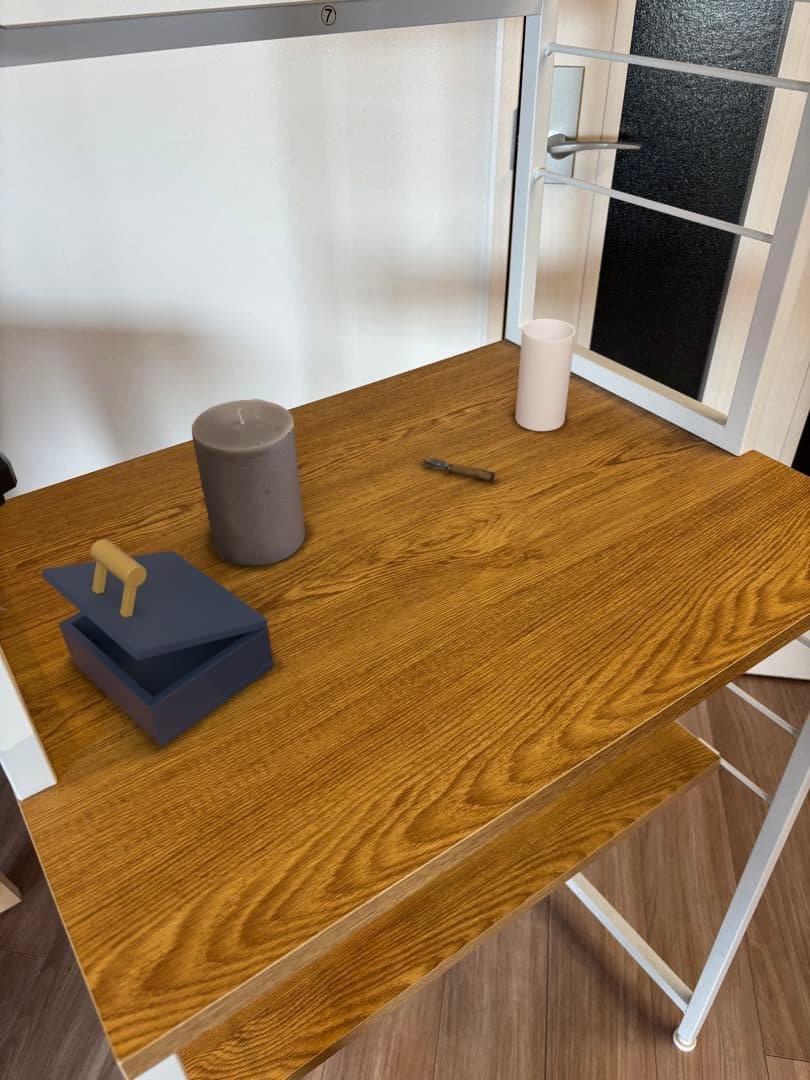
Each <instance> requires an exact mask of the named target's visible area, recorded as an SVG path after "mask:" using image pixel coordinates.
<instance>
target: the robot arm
mask: <svg viewBox="0 0 810 1080" xmlns="http://www.w3.org/2000/svg"><path fill="white" fill-rule="evenodd" d="M17 485H18V478H17V476H16V473H15V471H14V467H13V465H12V462H11V460H9V458H8V457H7V456H6V455H5V454H4V453H3V452H2V451H0V508H1V507H3V506H4V505H5V504H6V497H5V494H7V493H8V492H10V491H12V490H13V489H15V488H17Z"/></svg>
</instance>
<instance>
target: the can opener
mask: <svg viewBox="0 0 810 1080" xmlns="http://www.w3.org/2000/svg"><path fill="white" fill-rule="evenodd" d="M421 460H422V461H424V462H423V466H424V467H425V468H432V467H433V469H434V470H440V471H441V470H445V469H446V470H447V472H450V473H452V474H453V473H454V474H458V475H464V476H467V477H471V478H474V479H477V480H478V479H479V480H483V481H490V482H491V481H492V482H493V481H494V479H495V476H496V475H495V474H496V473H495V471H491V470H488V469H483V468H479V467H471V466H465V465H461V464H456V463H449V464H447V462H446V461H444V460H441V459H436V458H421ZM427 462H429V463H431V464H427Z"/></svg>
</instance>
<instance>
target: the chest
mask: <svg viewBox="0 0 810 1080" xmlns="http://www.w3.org/2000/svg"><path fill="white" fill-rule="evenodd" d="M58 627H59V629H60V632H61V635H62V638H63V640H64V643H65V645H66V648H67V651H68V653H69V656H70V658H71V661H72V663H73V664H74V665H75V666H76V668H78V669H79V670H80V671H81V672H82V673H83V674H84V675H85V676H86V677H87V678H89V680H91V681H92V682H93V683H94V684H95V685H96V686H97V687H98V688H99V689H100V690H101V691H102V692H103V693H104V694H105V695H106V696H107V697H108V698H110V699H111V701H113V702H114V703H115V704H116V705H117V706H118V707H119V708H120V709H121V710H122V711H123V712H124V713H125V714H126V715H128V716H129V717H130V718H131V719H132V720H133V721H134V722H135V723H136V724H137V725H138V726H139V727H140V728H141V729H143V731H144V732H145V733H147V734H148V735H149V736H150V737H151V739H153V740H154V741H155V743H157V744H158V746H160V747H162V748H164V747H165V746H167V745H168V744H169V743H171V742H172V741H174V740H175V739H176V738H178V737H179V736H180V735H182V734H183V733H185V732H186V731H188V730H189V729H190V728H191V727H193V726H194V725H196V724H197V723H199V722H200V721H201V720H202V719H204V718H205V717H207V716H208V715H210V714H211V713H212V712H214V711H215V710H216V709H218V708H220V706H222V705H223V704H225V703H226V702H228V701H229V700H230V699H232V698H233V697H234V696H236V695H237V694H238V693H240V692H241V691H243V690H244V689H246V688H247V687H249V685H251V684H252V683H254V682H256V681H257V680H258V679H259V678H261V677H262V676H264V675H265V674H266V673H268V672H269V671H271V670H272V669H273V668H274V667H275V663H274V656H273V651H272V644H271V640H270V639H271V638H270V633H269V628H268V627H266V628H263V629H259V630H255V631H251V632H247V633H243V634H239V635H235V636H231V637H227V638H223V639H220V640H216V641H212V642H208V643H204V644H200V645H196V646H192V647H188V648H184V649H180V650H176V651H172V652H168V653H164V654H160V655H156V656H152V657H148V658H144V659H140V660H136V659H135V658H134V657H132V656H131V655H130V654H129V653H128V652H127V651H126V650H124V649H123V648H122V647H121V646H120V645H119V644H118V643H116V642H115V641H114V640H113V639H112V638H111V637H110V636H109V635H107V634H106V633H105V632H104V631H103V630H102V629H101V628H99V627H98V626H97V625H96V624H95V623H94V622H93V621H91V620H90V619H89V618H88V617H87V616H86V615H85V614H83V613H82V612H81V611H80V610H79V612H77V613H75V614H73V615H71V616H70V617H68V618H66V619H64V620H63V621H61V622H59V623H58Z"/></svg>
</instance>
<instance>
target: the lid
mask: <svg viewBox="0 0 810 1080" xmlns="http://www.w3.org/2000/svg"><path fill="white" fill-rule="evenodd" d="M89 553H90V556H91V558H92V559H93V560H94V561H90V562H83V563H75V564H68V565H61V566H55V567H48V568H43V569H42V576H41V577H42V579H43V580H45V582H47V583H48V584H49V585H50V586H51V587H52V588H54V589H55V590H56V591H57V592H58V593H59V594H61V596H63V597H64V598H65V599H66V600H67V601H68V602H70V603H71V604H72V605H73V606H74V607H75V608H77V609H78V611H79V612H80V611H81V612H82V613H83V614H85V615H86V616H87V617H88V618H89V619H90V620H91V621H93V622H94V623H95V624H96V625H97V626H98V627H99V628H101V629H102V630H103V631H104V632H105V633H106V634H107V635H109V636H110V637H111V638H112V639H113V640H114V641H115V642H116V643H118V644H119V645H120V646H121V647H122V648H123V649H124V650H126V651H127V652H128V653H129V654H130V655H131V656H132V657H134V658H135V659H136V660H140V659H144V658H148V657H152V656H156V655H160V654H164V653H168V652H172V651H176V650H180V649H184V648H188V647H192V646H196V645H200V644H204V643H208V642H212V641H216V640H220V639H223V638H227V637H231V636H235V635H239V634H243V633H247V632H251V631H255V630H259V629H263V628H266V627H267V626H268V623H269V619H268V618H267V617H266V616H264V615H263V614H261V613H260V612H259V611H257V610H256V609H254V608H253V607H251V606H250V605H249V604H247V602H245V601H243V600H242V599H241V598H239V597H238V596H236V595H235V594H234V593H233V592H231V591H229V590H228V589H227V588H225V587H224V586H223V585H221V584H220V583H218V582H217V581H216V580H214V579H213V578H211V577H210V576H209V575H208V574H206V573H204V572H203V571H202V570H200V569H199V568H198V567H196V566H195V565H193V564H192V563H190V562H189V561H188V560H186V558H183V556H181V555H179V554H178V553H177V552H175V551H174V550H168V551H162V552H161V551H160V552H154V553H146V554H139V555H131V556H130V555H129V554H127V553H126V552H125V551H123V550H122V549H121V548H120V547H118V546H117V545H116V544H114V543H113V542H111V541H110V540H109V539H106V538H101V539H98V540H96V541H95V542H94V543H93V544H92V546H91V547H90V552H89ZM267 628H268V627H267Z"/></svg>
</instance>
